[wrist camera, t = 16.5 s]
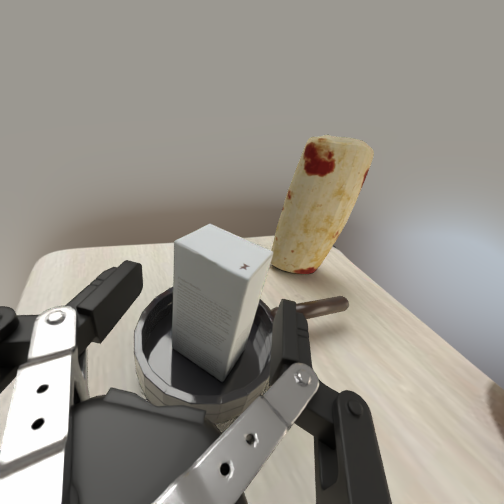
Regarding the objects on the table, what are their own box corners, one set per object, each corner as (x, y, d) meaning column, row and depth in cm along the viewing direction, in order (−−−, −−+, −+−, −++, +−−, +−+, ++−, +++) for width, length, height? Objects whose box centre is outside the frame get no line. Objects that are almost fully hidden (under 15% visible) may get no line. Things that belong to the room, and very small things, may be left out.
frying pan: (137, 455, 16) (133, 434, 14) (136, 311, 25) (133, 286, 23) (294, 395, 21) (307, 374, 19) (245, 295, 30) (250, 274, 28)
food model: (270, 279, 34) (318, 131, 23) (261, 253, 40) (297, 123, 29) (328, 282, 37) (396, 149, 26) (312, 257, 42) (363, 139, 31)
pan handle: (271, 330, 24) (276, 318, 23) (264, 316, 25) (268, 305, 24) (348, 313, 28) (354, 302, 27) (338, 302, 29) (344, 292, 28)
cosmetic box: (246, 348, 23) (277, 251, 17) (222, 384, 20) (250, 281, 13) (198, 318, 25) (209, 221, 19) (169, 347, 22) (171, 240, 15)
